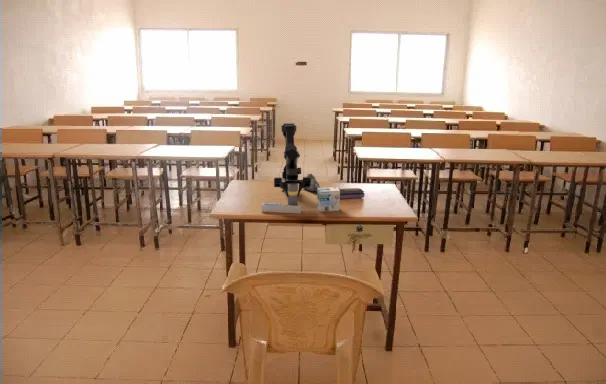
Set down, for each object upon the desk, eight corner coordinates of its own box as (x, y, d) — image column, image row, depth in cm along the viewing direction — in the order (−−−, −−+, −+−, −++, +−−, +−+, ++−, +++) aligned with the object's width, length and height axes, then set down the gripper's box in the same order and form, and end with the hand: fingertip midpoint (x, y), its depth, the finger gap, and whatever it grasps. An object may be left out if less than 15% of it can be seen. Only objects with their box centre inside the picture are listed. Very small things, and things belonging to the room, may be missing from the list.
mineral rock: (320, 194, 260) (320, 176, 257) (301, 193, 260) (301, 176, 258) (320, 188, 272) (321, 171, 269) (302, 187, 273) (302, 171, 270)
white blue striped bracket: (261, 211, 229) (261, 203, 228) (263, 209, 233) (263, 201, 231) (300, 213, 226) (300, 205, 225) (301, 210, 230) (301, 203, 229)
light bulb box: (319, 212, 229) (319, 191, 226) (316, 207, 235) (316, 187, 232) (340, 210, 231) (340, 190, 228) (336, 206, 237) (337, 186, 234)
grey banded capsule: (285, 209, 233) (285, 184, 229) (293, 207, 236) (293, 182, 233) (292, 211, 229) (292, 186, 226) (300, 209, 232) (300, 184, 229)
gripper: (273, 162, 229) (274, 189, 222) (310, 161, 231) (312, 188, 223) (273, 173, 239) (274, 199, 231) (309, 173, 240) (311, 199, 233)
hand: (293, 196), depth 229 cm, fingers closed on grey banded capsule, 5 cm apart
